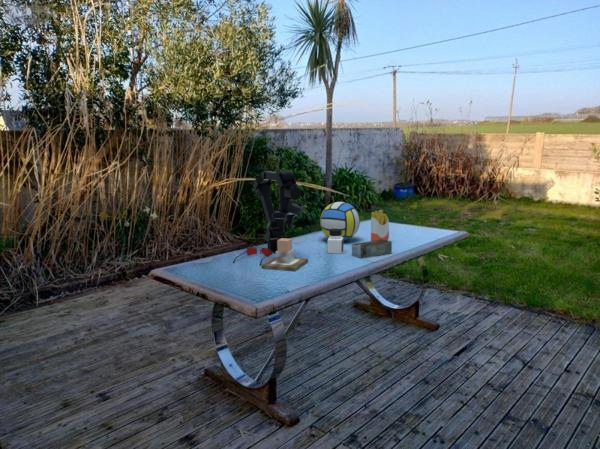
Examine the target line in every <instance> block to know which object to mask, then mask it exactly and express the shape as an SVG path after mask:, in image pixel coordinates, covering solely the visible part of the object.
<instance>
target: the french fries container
mask: <svg viewBox="0 0 600 449" xmlns="http://www.w3.org/2000/svg"><path fill="white" fill-rule="evenodd" d="M389 221H390V220H389V217H388V216H387V214H386V213H384V211H383V209H380V210H378V211H377V210H375V212H373V211H372V212H371V218H370V241H375V240H379V239H383V240H387V241H389V239H390V223H389Z"/></svg>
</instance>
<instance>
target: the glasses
mask: <svg viewBox="0 0 600 449" xmlns="http://www.w3.org/2000/svg"><path fill="white" fill-rule="evenodd" d="M268 249H269V248H268V247H261V248H260V249H259V251H260V252H259V255H263V257H262V258H261V259H260V263H259V266H261V265H262V263H263V262H262V261H263V259H265V258H268V257H271V256H272V255H273V254H274V253H273V252H272V251H270V250H268ZM244 254H246V255H247V256H248V255H250V256H252V255H257V254H258V246H257V247H253V246H248V247H247V248H246V250H245V251H244V252H243V253H241V254H239V255H238V256H236V257H235V258H234V259H233V261H232V263H235V261H236V260H237V259H238V258H239V257H240V256H242V255H244Z"/></svg>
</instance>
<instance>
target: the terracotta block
mask: <svg viewBox="0 0 600 449" xmlns="http://www.w3.org/2000/svg"><path fill="white" fill-rule="evenodd" d="M277 248H278V252H289V251H291V250H292V249H293V238H286V237H284V238H281V239H279V240H277Z"/></svg>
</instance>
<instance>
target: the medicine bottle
mask: <svg viewBox="0 0 600 449" xmlns="http://www.w3.org/2000/svg"><path fill="white" fill-rule="evenodd" d="M327 238H328V237H327ZM343 252H344V241H343V237H342V230H341V229H339V228H332V229H330V230H329V238H328V239H327V254H330V255H331V254H336V255H339V254H341V255H342V254H343Z"/></svg>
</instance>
